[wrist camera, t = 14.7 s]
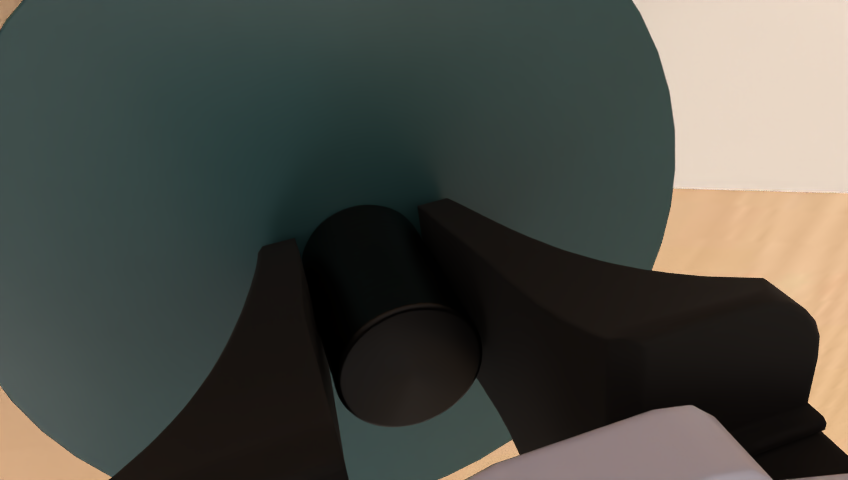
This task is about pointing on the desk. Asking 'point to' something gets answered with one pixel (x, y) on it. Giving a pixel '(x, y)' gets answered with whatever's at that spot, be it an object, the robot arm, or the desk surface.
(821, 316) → the desk surface
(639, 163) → the lid
